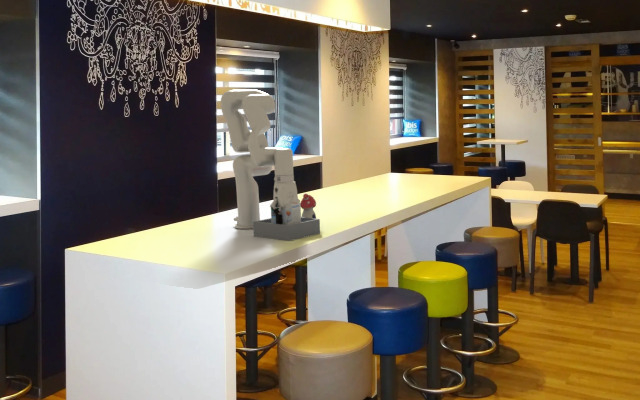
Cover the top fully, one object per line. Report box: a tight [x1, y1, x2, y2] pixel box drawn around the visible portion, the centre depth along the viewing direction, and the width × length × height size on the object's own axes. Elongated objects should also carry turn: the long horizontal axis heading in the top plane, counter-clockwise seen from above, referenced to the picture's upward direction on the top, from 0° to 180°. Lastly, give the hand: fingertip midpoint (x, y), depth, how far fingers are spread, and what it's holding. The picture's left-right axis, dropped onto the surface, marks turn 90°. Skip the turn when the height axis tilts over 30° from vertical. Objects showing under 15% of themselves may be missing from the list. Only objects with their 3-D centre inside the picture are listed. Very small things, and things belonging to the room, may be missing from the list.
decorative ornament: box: [300, 193, 317, 219], centre depth 299 cm, size 9×7×15 cm
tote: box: [253, 217, 321, 242], centre depth 284 cm, size 20×18×6 cm
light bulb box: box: [270, 202, 302, 225], centre depth 283 cm, size 11×7×11 cm, turn 58°
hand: (286, 222), depth 284 cm, fingers closed on light bulb box, 7 cm apart
